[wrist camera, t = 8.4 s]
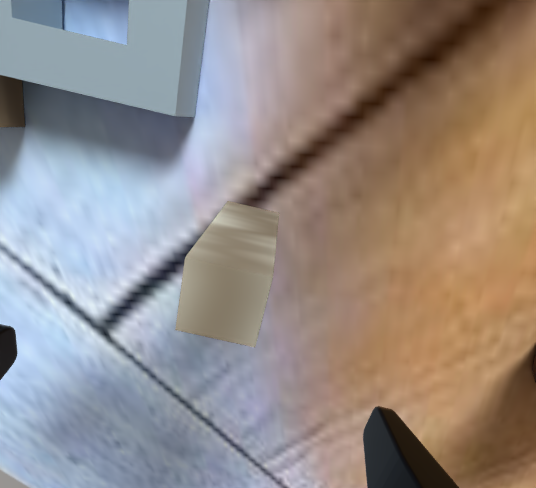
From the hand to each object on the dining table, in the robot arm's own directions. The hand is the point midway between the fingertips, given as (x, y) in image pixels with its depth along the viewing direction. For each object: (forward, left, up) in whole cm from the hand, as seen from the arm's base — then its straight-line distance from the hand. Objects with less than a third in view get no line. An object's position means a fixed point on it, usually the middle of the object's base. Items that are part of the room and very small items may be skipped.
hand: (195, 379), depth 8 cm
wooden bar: (0, 0, -12) cm, 12 cm away
